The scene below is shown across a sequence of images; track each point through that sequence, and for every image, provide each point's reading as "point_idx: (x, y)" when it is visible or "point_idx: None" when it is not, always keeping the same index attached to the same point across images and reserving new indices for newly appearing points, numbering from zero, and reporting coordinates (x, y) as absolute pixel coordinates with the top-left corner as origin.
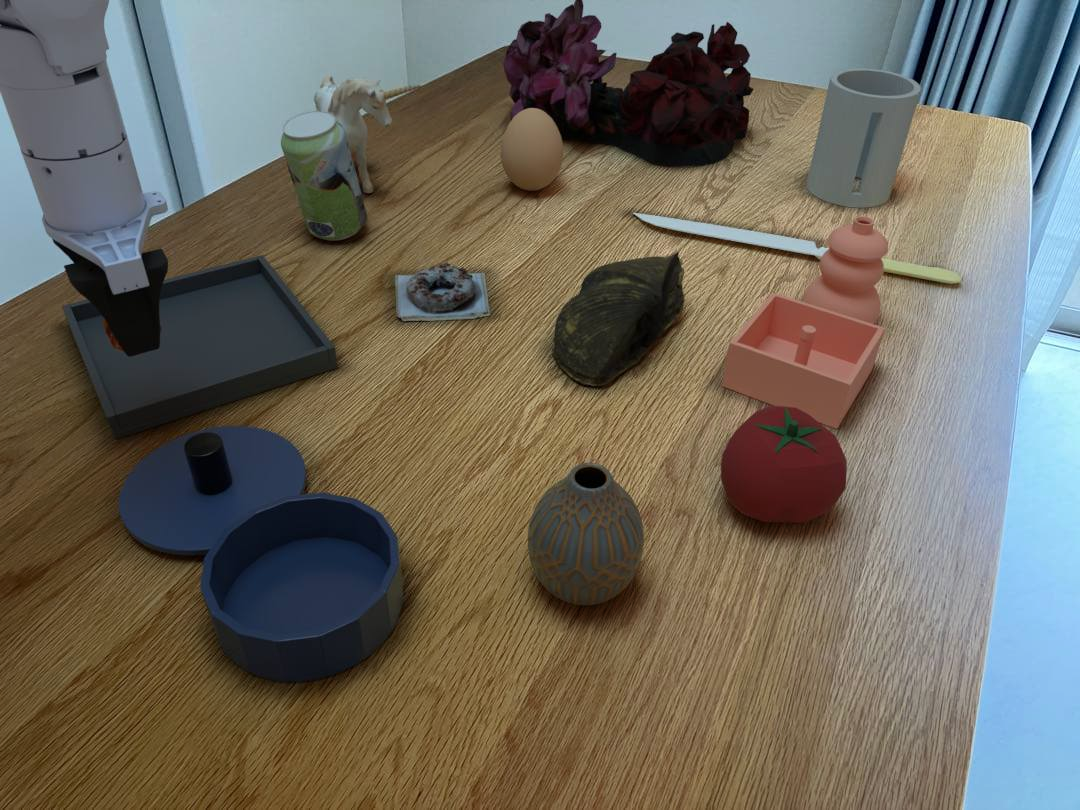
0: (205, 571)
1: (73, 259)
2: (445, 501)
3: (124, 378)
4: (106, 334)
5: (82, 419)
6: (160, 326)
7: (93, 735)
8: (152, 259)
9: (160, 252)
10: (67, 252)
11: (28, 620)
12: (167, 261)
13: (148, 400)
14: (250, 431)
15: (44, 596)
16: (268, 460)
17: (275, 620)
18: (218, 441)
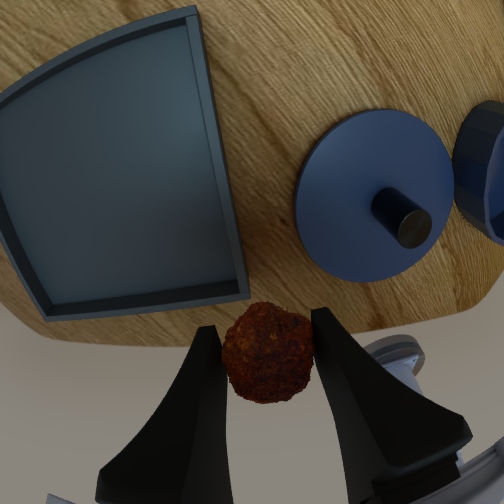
0: (500, 242)
1: (230, 484)
2: (461, 28)
3: (150, 272)
4: (71, 283)
5: None
6: (263, 307)
7: (479, 282)
8: (437, 459)
9: (422, 463)
10: (231, 498)
11: (407, 317)
12: (465, 435)
13: (234, 261)
14: (325, 150)
15: (397, 312)
16: (384, 145)
17: (494, 191)
18: (422, 213)
